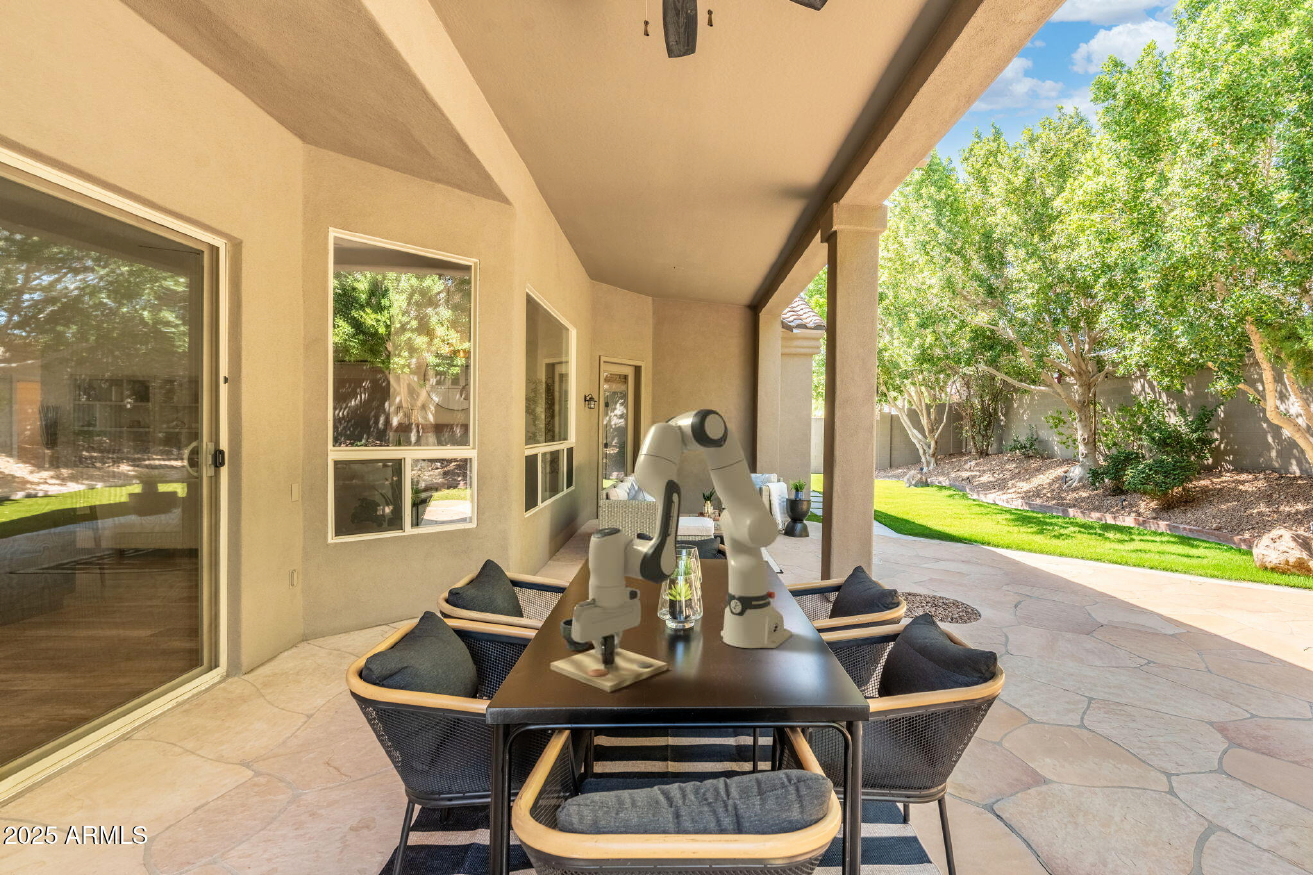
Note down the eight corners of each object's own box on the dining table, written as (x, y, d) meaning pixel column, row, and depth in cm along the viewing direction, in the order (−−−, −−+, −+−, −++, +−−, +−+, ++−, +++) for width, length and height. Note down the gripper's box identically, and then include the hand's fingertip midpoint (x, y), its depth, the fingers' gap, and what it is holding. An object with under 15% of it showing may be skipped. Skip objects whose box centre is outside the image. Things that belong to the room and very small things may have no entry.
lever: (608, 645, 173) (608, 615, 173) (617, 670, 154) (617, 637, 154) (593, 645, 173) (593, 616, 173) (600, 671, 153) (600, 638, 153)
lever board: (608, 650, 177) (608, 644, 177) (666, 669, 162) (666, 662, 162) (550, 669, 162) (550, 662, 162) (609, 692, 147) (609, 684, 147)
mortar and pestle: (556, 643, 182) (556, 602, 183) (587, 639, 186) (587, 598, 186) (567, 655, 172) (567, 611, 172) (600, 651, 176) (600, 607, 176)
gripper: (583, 605, 146) (583, 666, 146) (644, 589, 161) (645, 644, 161) (565, 601, 150) (565, 659, 150) (627, 586, 165) (627, 639, 165)
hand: (607, 651), depth 155 cm, fingers open, 3 cm apart
